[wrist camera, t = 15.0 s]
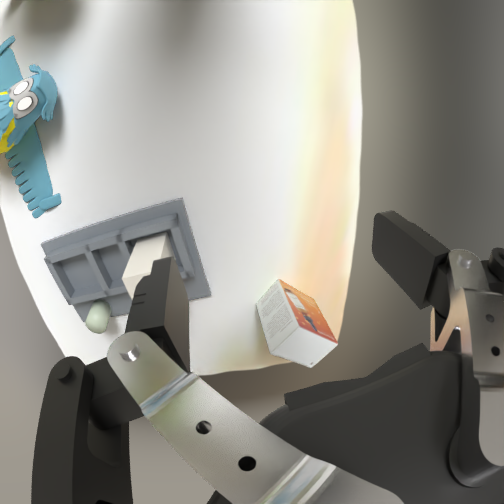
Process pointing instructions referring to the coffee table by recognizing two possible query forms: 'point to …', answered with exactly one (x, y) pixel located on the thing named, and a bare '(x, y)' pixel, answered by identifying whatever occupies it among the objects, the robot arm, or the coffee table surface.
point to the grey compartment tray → (119, 260)
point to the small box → (294, 325)
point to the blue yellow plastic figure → (26, 127)
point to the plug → (145, 259)
